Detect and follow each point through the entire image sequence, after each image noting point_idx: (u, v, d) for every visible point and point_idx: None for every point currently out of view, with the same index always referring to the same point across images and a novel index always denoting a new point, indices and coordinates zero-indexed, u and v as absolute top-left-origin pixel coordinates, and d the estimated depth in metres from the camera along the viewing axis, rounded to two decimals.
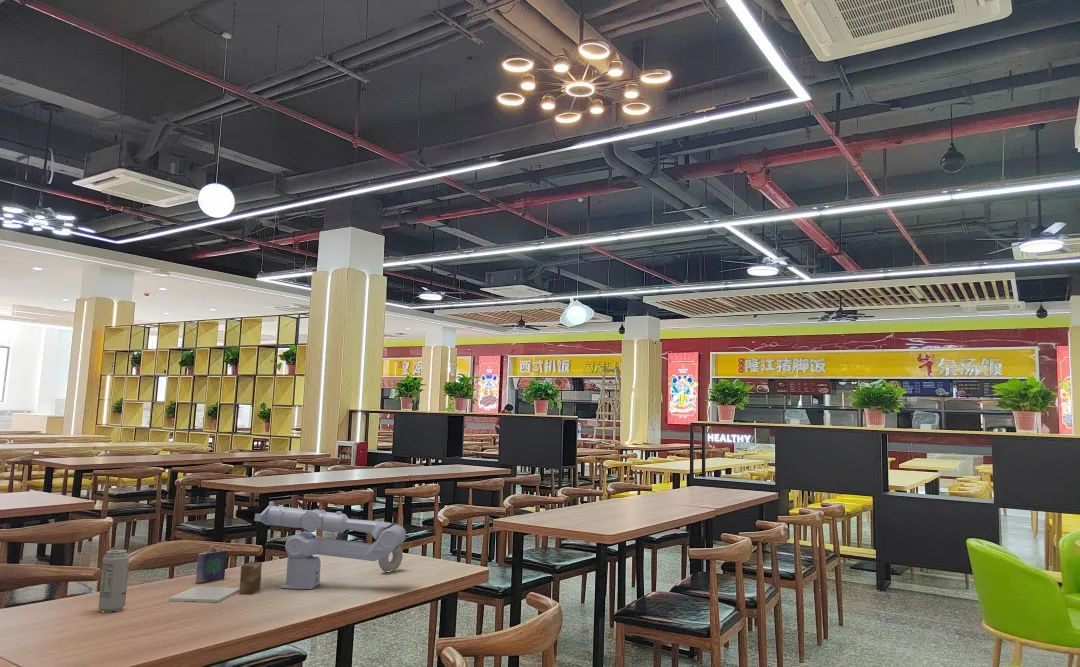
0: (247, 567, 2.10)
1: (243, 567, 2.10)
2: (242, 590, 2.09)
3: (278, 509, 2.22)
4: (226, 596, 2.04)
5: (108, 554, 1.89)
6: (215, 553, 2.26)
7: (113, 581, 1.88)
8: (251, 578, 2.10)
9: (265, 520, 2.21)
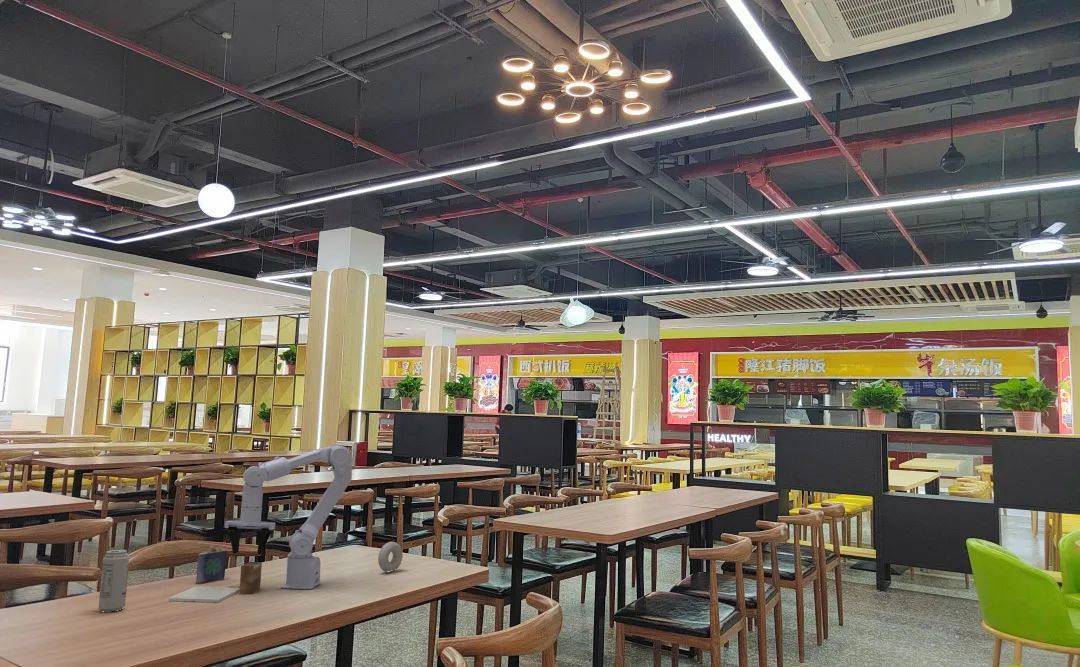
0: (247, 567, 2.10)
1: (243, 567, 2.10)
2: (242, 590, 2.09)
3: (253, 514, 2.15)
4: (226, 596, 2.04)
5: (108, 554, 1.89)
6: (215, 553, 2.26)
7: (113, 581, 1.88)
8: (251, 578, 2.10)
9: (261, 522, 2.18)
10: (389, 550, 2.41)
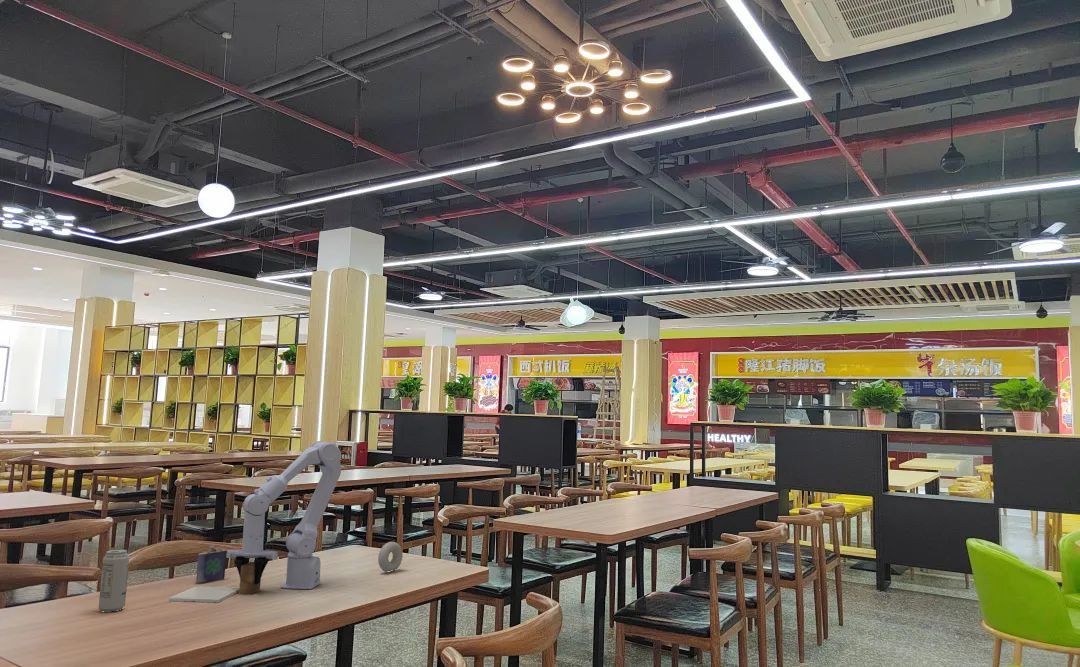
0: (247, 567, 2.10)
1: (243, 567, 2.10)
2: (242, 589, 2.09)
3: (255, 543, 2.12)
4: (226, 596, 2.04)
5: (108, 554, 1.89)
6: (215, 553, 2.26)
7: (113, 581, 1.88)
8: (251, 578, 2.10)
9: None
10: (389, 550, 2.41)
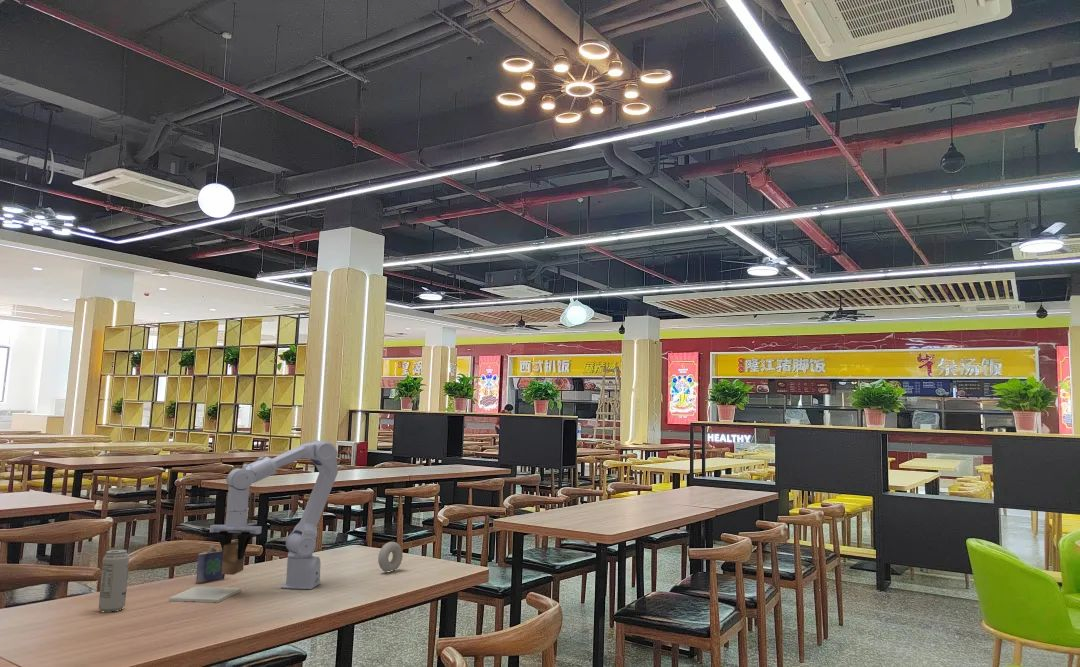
0: (230, 547, 2.07)
1: (226, 547, 2.07)
2: (224, 569, 2.07)
3: (238, 517, 2.09)
4: (226, 596, 2.04)
5: (108, 554, 1.89)
6: (215, 553, 2.26)
7: (113, 581, 1.88)
8: (234, 557, 2.07)
9: (247, 526, 2.12)
10: (389, 550, 2.41)
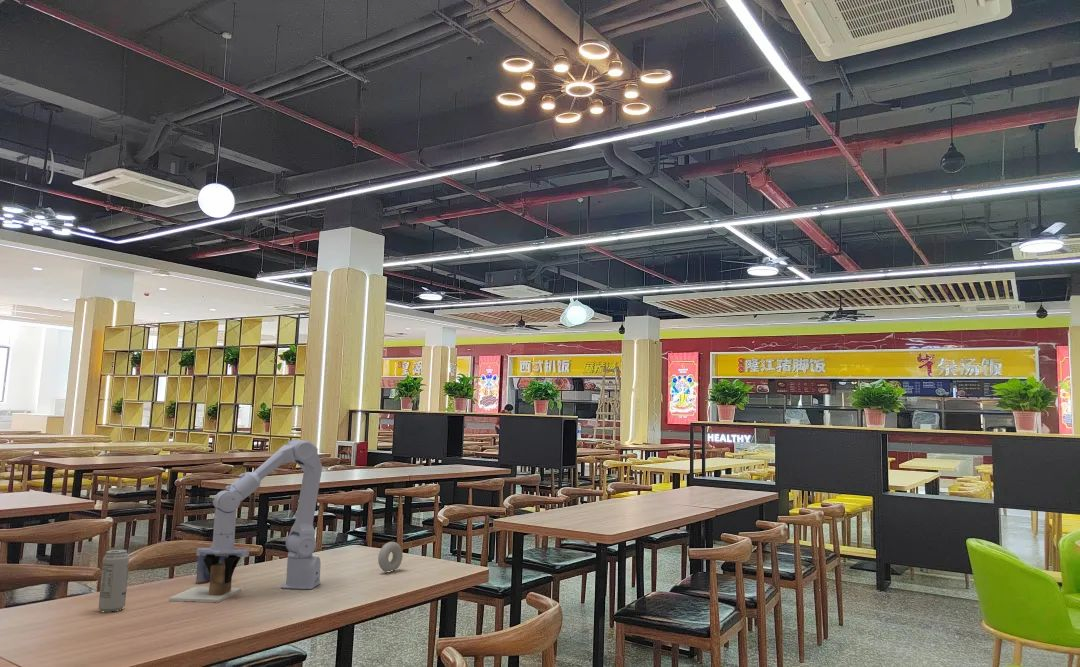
0: (217, 567, 2.05)
1: (213, 567, 2.05)
2: (211, 590, 2.04)
3: (225, 540, 2.06)
4: (226, 596, 2.04)
5: (108, 554, 1.89)
6: None
7: (113, 581, 1.88)
8: (221, 578, 2.04)
9: (234, 549, 2.09)
10: (389, 550, 2.41)
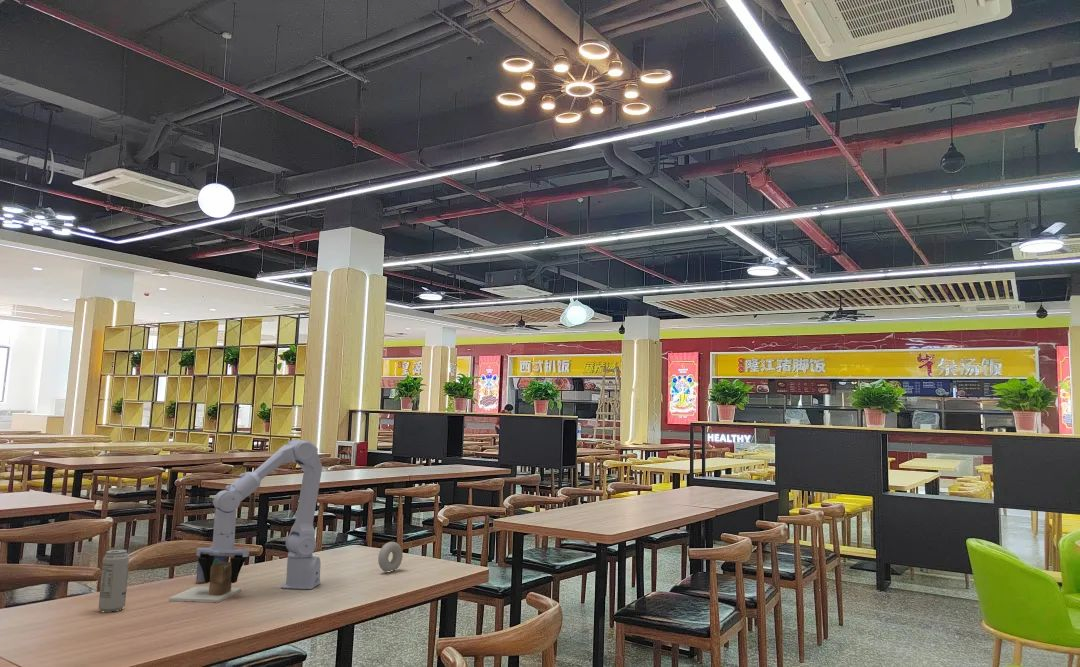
0: (217, 567, 2.05)
1: (213, 567, 2.05)
2: (211, 590, 2.04)
3: (225, 540, 2.06)
4: (226, 596, 2.04)
5: (108, 554, 1.89)
6: None
7: (113, 581, 1.88)
8: (221, 578, 2.04)
9: (234, 549, 2.09)
10: (389, 550, 2.41)
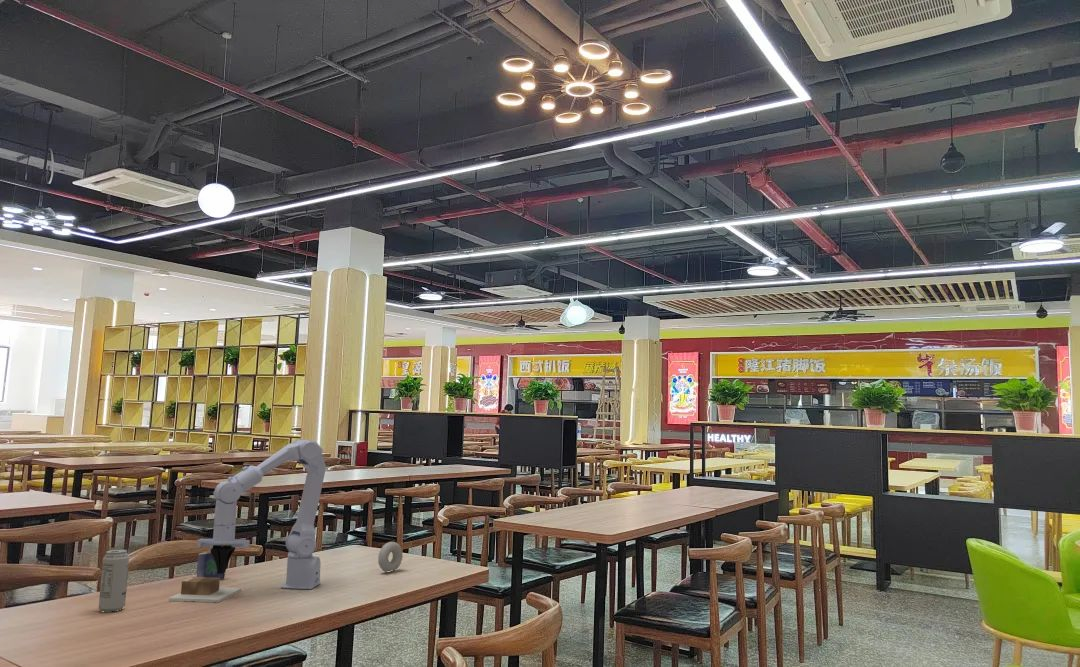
0: (182, 587, 2.04)
1: (182, 591, 2.04)
2: (204, 592, 2.04)
3: (226, 531, 2.06)
4: (226, 596, 2.04)
5: (108, 554, 1.89)
6: None
7: (113, 581, 1.88)
8: (193, 582, 2.04)
9: (235, 540, 2.10)
10: (389, 550, 2.41)
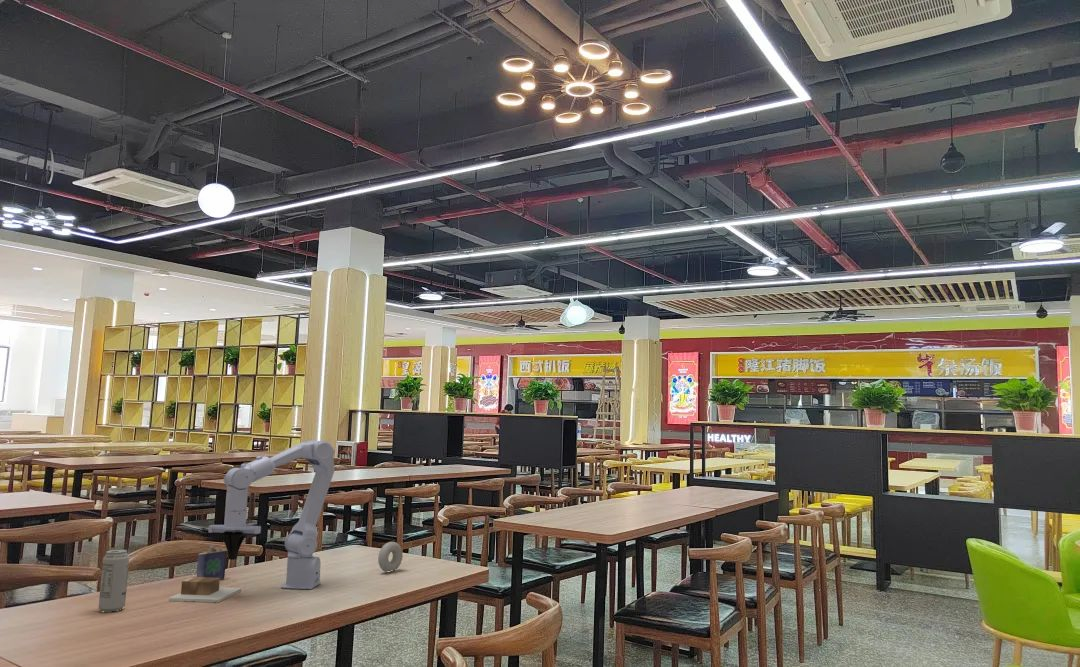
0: (182, 587, 2.04)
1: (182, 591, 2.04)
2: (204, 592, 2.04)
3: (237, 517, 2.07)
4: (226, 596, 2.04)
5: (108, 554, 1.89)
6: (215, 553, 2.26)
7: (113, 581, 1.88)
8: (193, 582, 2.04)
9: (246, 526, 2.10)
10: (389, 550, 2.41)
